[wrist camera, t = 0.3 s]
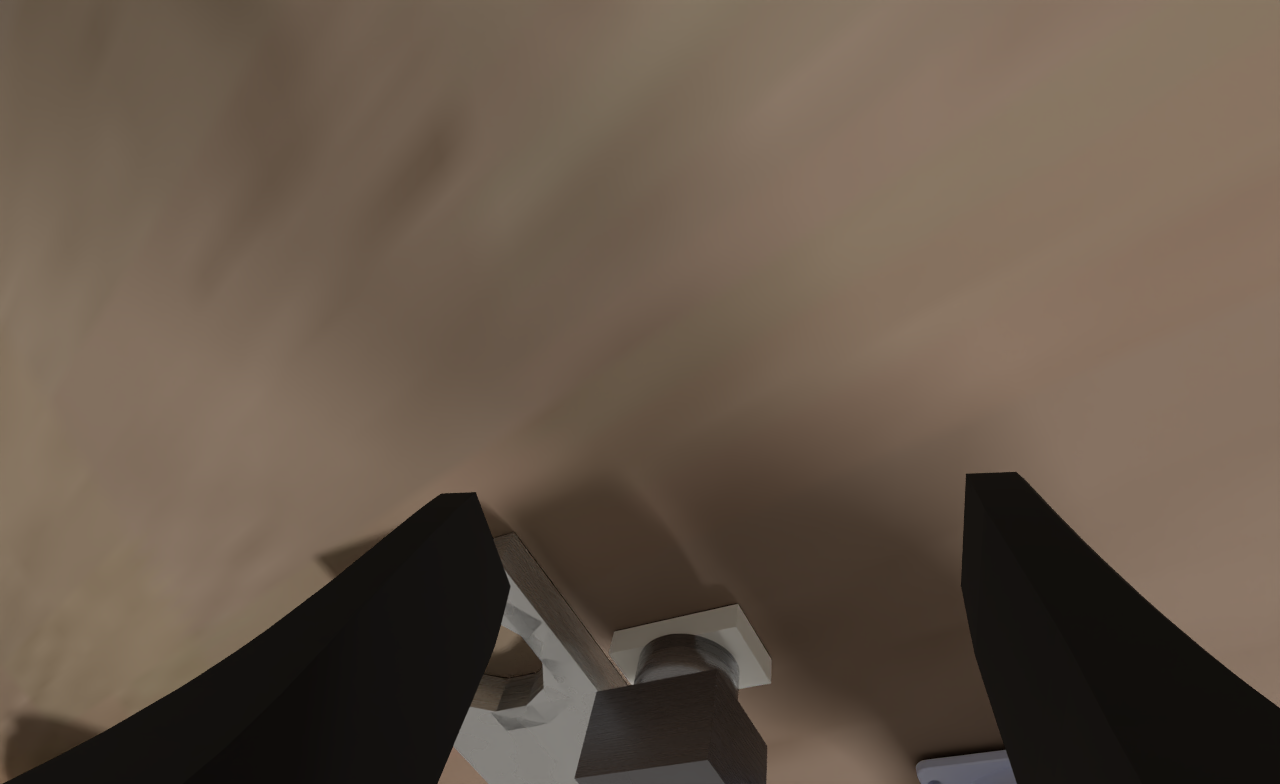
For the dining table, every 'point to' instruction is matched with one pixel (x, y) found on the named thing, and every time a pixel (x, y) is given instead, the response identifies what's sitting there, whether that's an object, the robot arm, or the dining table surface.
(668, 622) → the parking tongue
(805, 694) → the dining table surface
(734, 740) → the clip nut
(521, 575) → the flange plate
